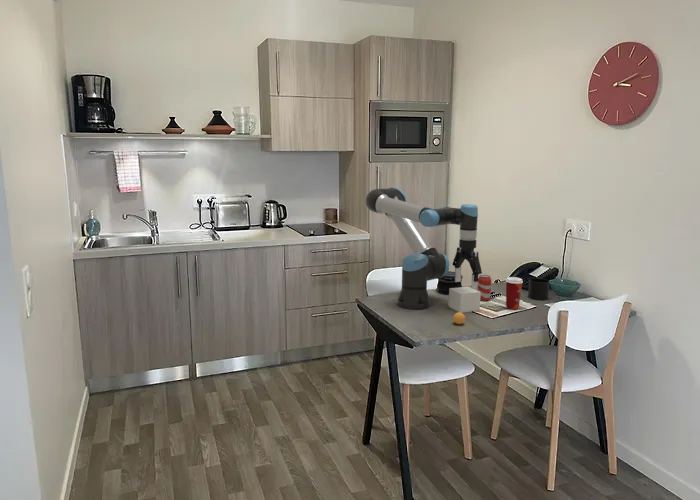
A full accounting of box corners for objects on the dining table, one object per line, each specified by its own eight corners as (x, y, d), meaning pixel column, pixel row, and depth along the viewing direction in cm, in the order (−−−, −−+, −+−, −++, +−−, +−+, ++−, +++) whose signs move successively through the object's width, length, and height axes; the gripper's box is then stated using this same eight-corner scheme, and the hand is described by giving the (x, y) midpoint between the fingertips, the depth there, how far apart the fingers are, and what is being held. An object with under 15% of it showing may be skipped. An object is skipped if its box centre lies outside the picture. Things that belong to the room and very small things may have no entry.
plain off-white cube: (460, 312, 236) (461, 293, 235) (448, 306, 246) (449, 288, 244) (479, 310, 240) (480, 292, 238) (467, 304, 249) (468, 286, 248)
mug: (554, 297, 263) (556, 280, 262) (540, 301, 257) (542, 283, 255) (538, 293, 271) (539, 276, 269) (524, 297, 264) (525, 279, 262)
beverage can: (484, 302, 254) (486, 278, 252) (474, 299, 259) (475, 275, 257) (492, 300, 257) (494, 276, 255) (482, 297, 263) (483, 273, 260)
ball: (452, 325, 220) (452, 313, 219) (453, 321, 224) (454, 310, 223) (464, 326, 218) (464, 314, 217) (465, 322, 223) (466, 311, 222)
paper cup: (521, 310, 241) (524, 281, 238) (504, 309, 242) (506, 280, 240) (519, 306, 248) (522, 277, 246) (503, 304, 250) (505, 276, 247)
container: (457, 288, 278) (458, 270, 276) (464, 295, 266) (465, 276, 264) (434, 288, 277) (435, 270, 276) (440, 295, 265) (440, 276, 263)
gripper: (491, 242, 227) (488, 290, 230) (460, 234, 250) (458, 278, 253) (476, 243, 224) (474, 292, 228) (446, 235, 247) (444, 279, 251)
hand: (465, 285), depth 241 cm, fingers open, 13 cm apart
